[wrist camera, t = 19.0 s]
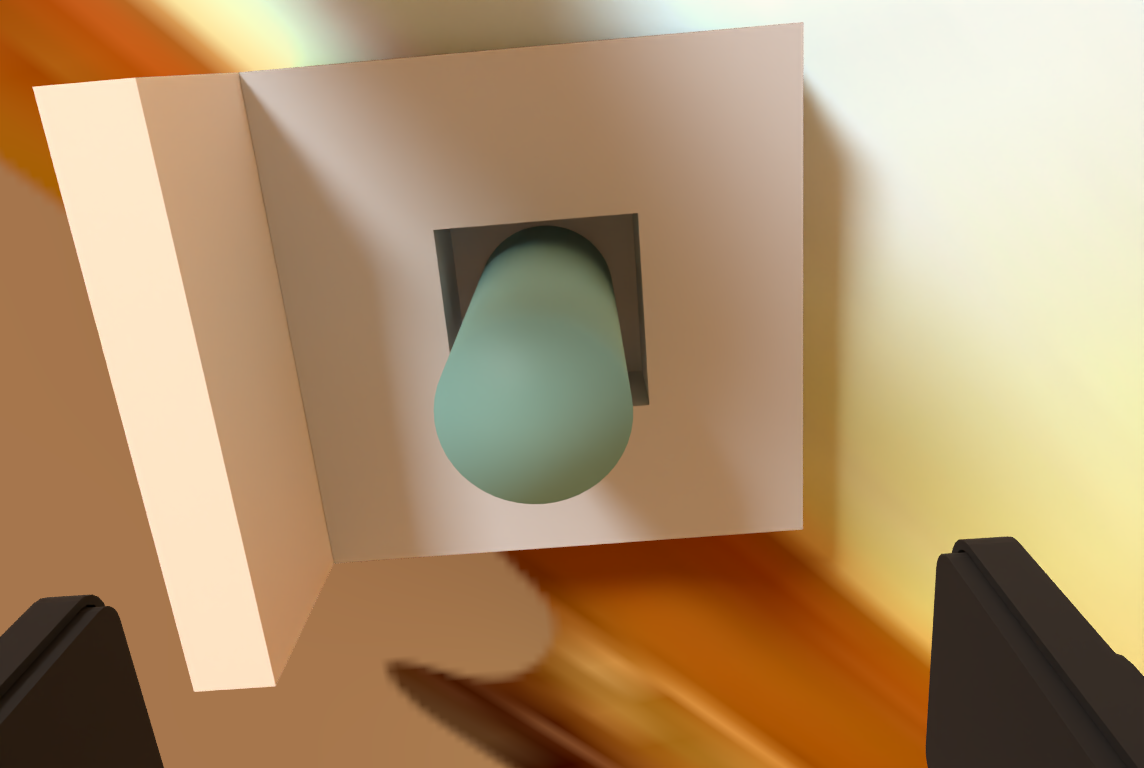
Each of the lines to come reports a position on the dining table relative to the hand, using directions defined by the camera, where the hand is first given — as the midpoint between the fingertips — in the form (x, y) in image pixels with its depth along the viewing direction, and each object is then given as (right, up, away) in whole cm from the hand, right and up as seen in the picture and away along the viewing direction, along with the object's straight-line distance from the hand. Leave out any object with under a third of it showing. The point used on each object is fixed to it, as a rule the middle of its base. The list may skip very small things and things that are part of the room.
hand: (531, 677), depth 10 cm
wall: (-8, +6, +19) cm, 21 cm away
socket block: (0, +6, +18) cm, 19 cm away
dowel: (0, +6, +17) cm, 18 cm away
